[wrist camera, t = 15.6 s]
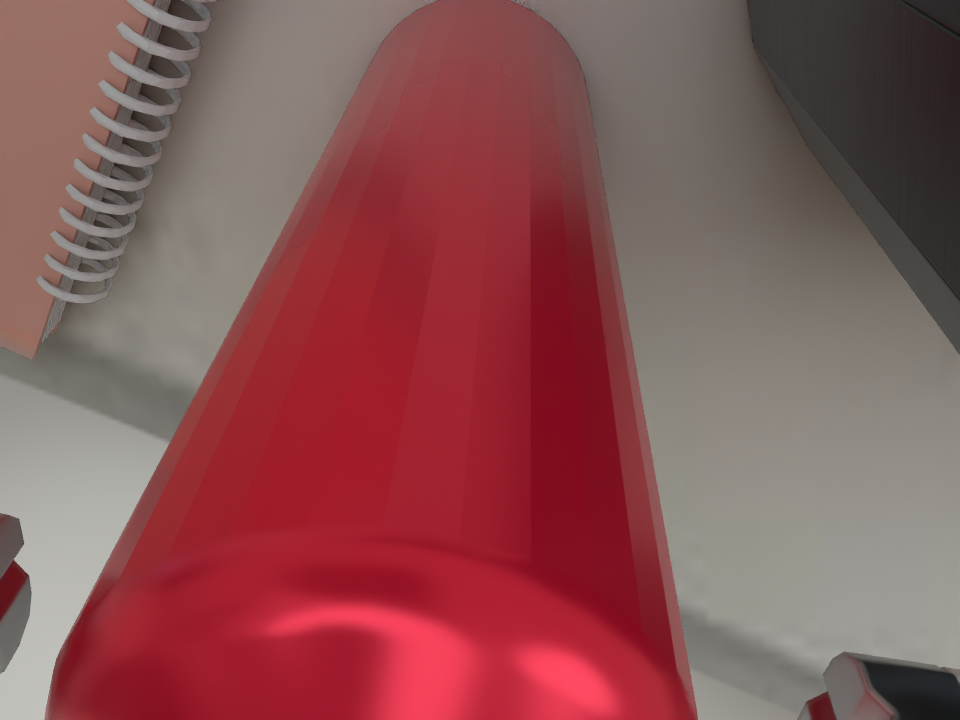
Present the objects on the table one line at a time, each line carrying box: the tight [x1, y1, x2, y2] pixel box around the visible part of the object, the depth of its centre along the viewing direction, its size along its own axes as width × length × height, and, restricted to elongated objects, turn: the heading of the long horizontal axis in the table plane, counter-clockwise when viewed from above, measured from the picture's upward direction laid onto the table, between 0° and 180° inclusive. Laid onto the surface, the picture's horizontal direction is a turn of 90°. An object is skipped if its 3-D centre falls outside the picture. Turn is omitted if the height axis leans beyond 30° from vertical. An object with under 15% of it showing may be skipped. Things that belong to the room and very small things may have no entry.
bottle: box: [45, 0, 698, 720], centre depth 13 cm, size 6×5×20 cm
